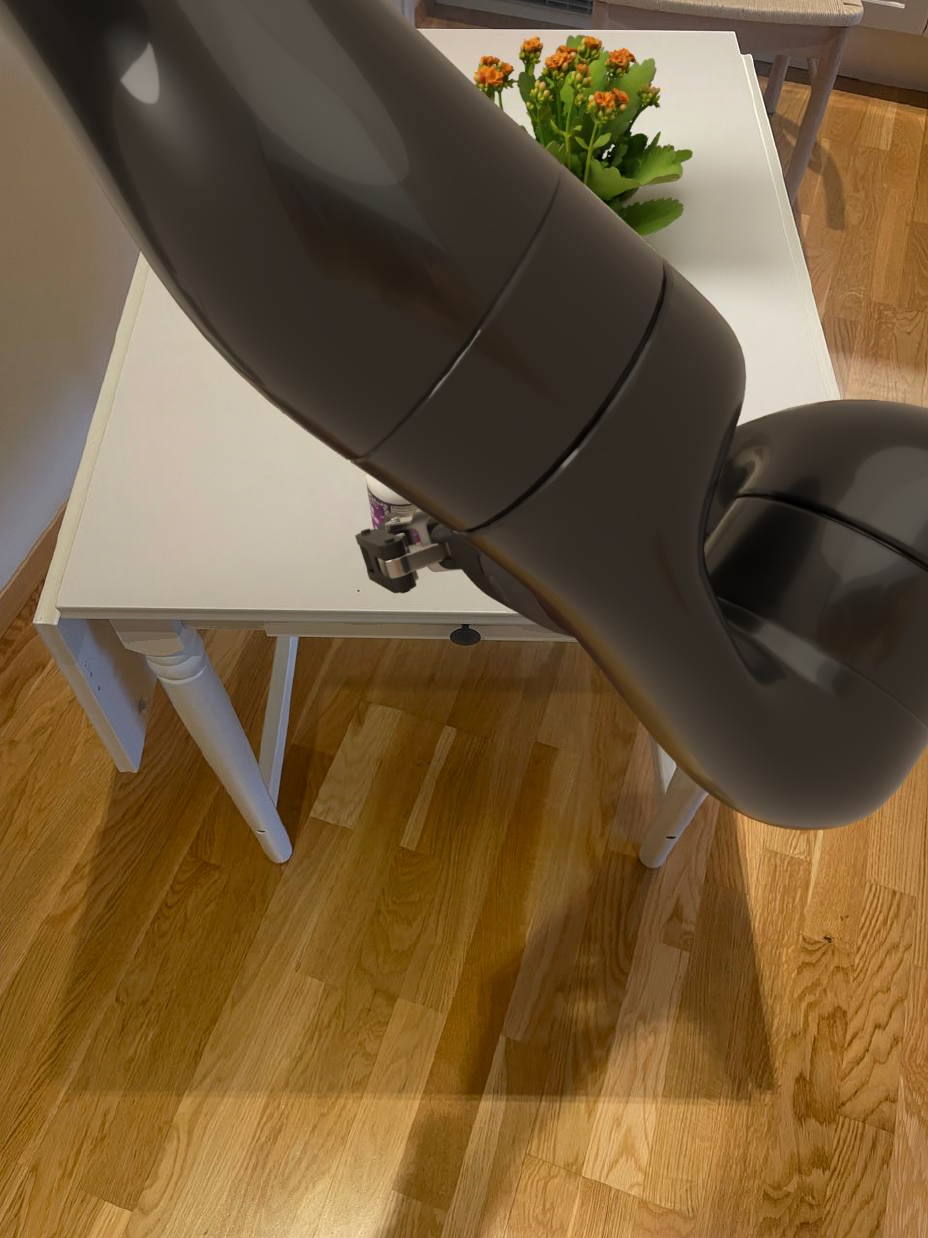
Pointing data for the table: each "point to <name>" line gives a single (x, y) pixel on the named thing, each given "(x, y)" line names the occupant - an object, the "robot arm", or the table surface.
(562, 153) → the potted flower
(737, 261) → the table surface
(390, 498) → the pill bottle
